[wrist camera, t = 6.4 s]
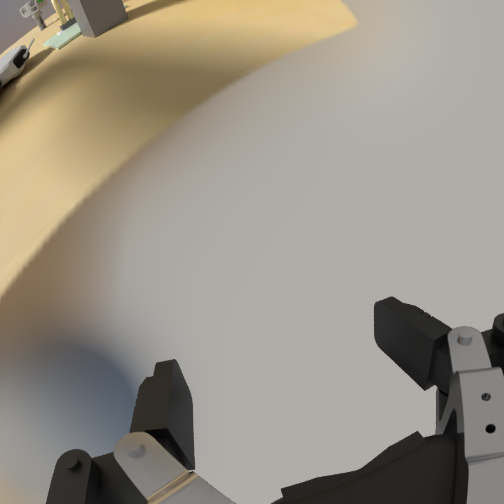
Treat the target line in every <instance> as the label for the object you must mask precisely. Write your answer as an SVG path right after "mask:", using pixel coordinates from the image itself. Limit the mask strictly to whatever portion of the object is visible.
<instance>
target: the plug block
mask: <svg viewBox="0 0 504 504" xmlns="http://www.w3.org/2000/svg"><path fill="white" fill-rule="evenodd" d="M67 1H68V3H69V6H70V8H71V10H72V12H73V15H74V17H75V19H76V21H77V24H78V26H79V28H80V30H81V32H82V35H83V36H87V37H97V36H99V35H100V34H102V33H103V32H105V31H107V30H108V29H110V28H112V27H113V26H115V25H117V24H119V23H120V22H122V21H124V20H126V19H128V16H127V13H126V10H125V8H124V5H123V2H122V0H67Z"/></svg>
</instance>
